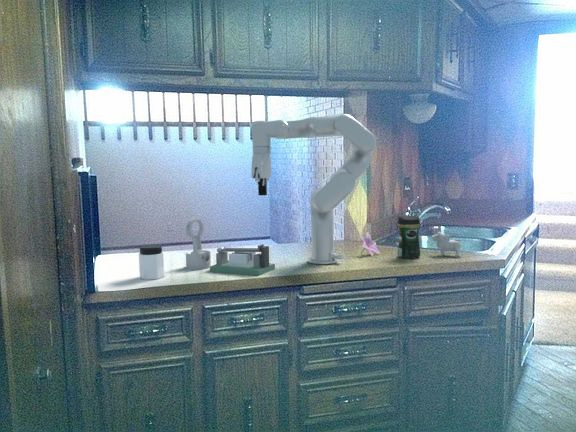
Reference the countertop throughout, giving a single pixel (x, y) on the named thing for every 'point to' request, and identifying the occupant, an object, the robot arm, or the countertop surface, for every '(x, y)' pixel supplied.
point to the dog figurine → (446, 243)
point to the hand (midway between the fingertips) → (262, 195)
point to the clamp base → (241, 270)
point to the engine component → (197, 249)
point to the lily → (369, 244)
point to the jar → (151, 262)
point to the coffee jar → (408, 237)
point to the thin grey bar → (240, 249)
